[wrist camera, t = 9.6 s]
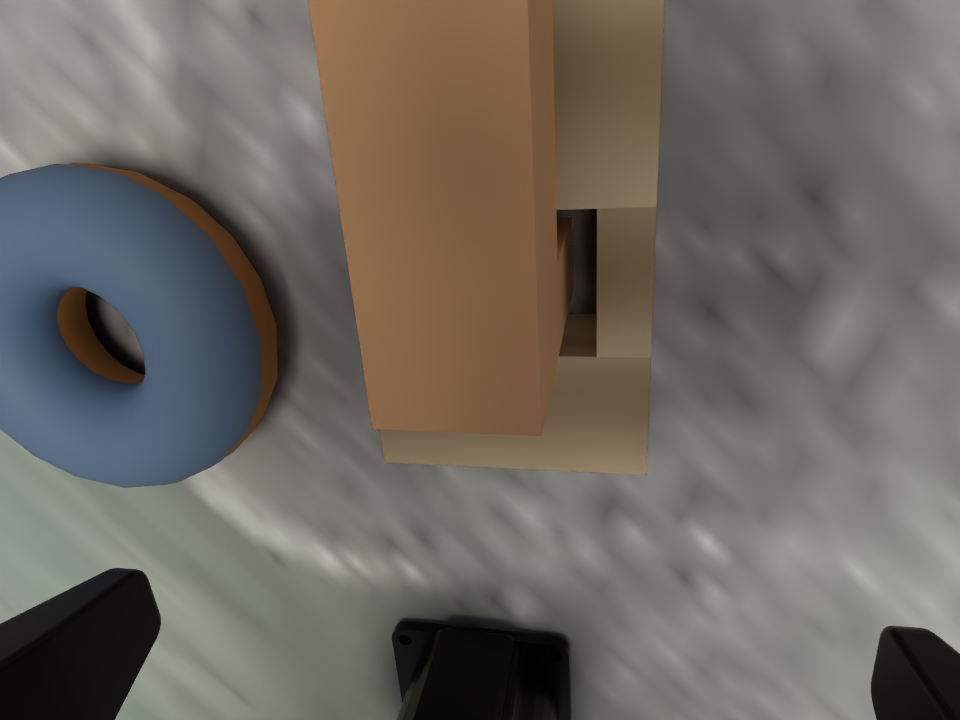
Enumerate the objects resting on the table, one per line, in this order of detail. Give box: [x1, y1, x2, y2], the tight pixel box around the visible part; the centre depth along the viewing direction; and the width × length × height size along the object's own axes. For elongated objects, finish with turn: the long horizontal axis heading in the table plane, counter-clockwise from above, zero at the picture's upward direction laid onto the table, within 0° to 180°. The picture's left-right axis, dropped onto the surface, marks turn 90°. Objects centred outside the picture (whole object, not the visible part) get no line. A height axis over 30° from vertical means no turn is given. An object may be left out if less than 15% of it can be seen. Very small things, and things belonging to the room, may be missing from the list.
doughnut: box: [0, 163, 278, 488], centre depth 20 cm, size 10×10×5 cm
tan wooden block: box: [308, 0, 573, 436], centre depth 13 cm, size 10×3×8 cm, turn 4°
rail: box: [379, 0, 664, 475], centre depth 15 cm, size 18×7×3 cm, turn 4°
